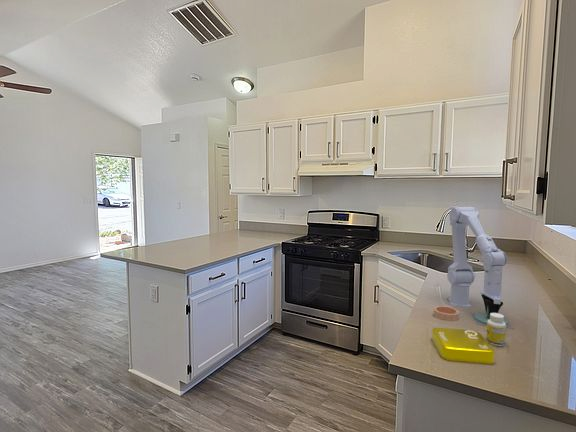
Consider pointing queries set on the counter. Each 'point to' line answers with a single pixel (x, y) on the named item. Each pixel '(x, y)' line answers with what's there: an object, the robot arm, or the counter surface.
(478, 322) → the mat
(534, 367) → the counter surface
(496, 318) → the supplement bottle
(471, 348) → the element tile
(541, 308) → the counter surface
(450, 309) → the bowl
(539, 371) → the counter surface
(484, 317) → the lid
